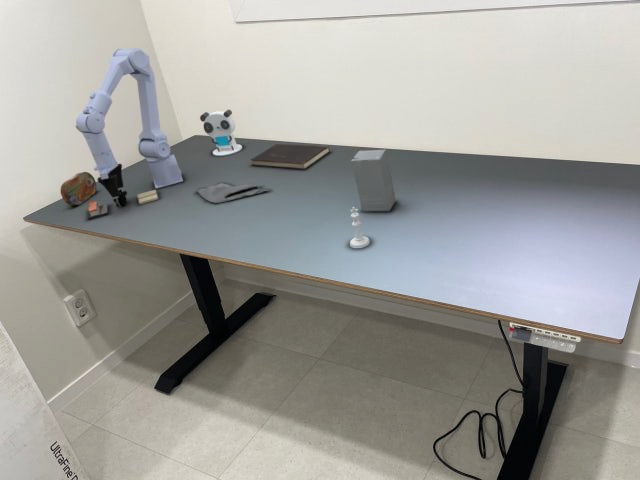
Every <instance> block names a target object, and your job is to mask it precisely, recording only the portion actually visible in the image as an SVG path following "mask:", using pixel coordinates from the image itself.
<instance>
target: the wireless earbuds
mask: <svg viewBox="0 0 640 480" xmlns="http://www.w3.org/2000/svg"><path fill="white" fill-rule="evenodd" d="M118 190H119V196H118V197H113V199H112V200H113V203H115V205H116V207H119V206H121V207H124V206H125V205H126V204H127V203H128V199H127V194H128V192H127V190H124V191H123V190H122V188H119V189H118Z"/></svg>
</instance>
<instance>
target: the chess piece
mask: <svg viewBox="0 0 640 480" xmlns="http://www.w3.org/2000/svg"><path fill="white" fill-rule="evenodd" d="M358 211H359V209H358V208H355V206H352V209H350V213H351V214H350V218H351V219H352V221H353V222H352V223H351V225H352V226H353V227H354V233H355V235H354V237H353V238H352V239H350V241H349V246H350V248H353V249H362V248H365V247H368V246H369V245H370V239H369V237H367V236H364V235H363V234H362V232H361V228H360V225H361V224H362V223H361V221H360V220H359V217H360V213H358Z"/></svg>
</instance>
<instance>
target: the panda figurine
mask: <svg viewBox="0 0 640 480" xmlns="http://www.w3.org/2000/svg"><path fill="white" fill-rule="evenodd" d="M232 115H233V112H232V110H231V109H227V110H226V111H224V110H217V111H214V112H211V113H209V112H207V111H205V112H203V113H202V114H201V115H200V117H199V120H200V121H201V122H202V123H203V130H204V132H205V133H206V134H207V135H208V137H210V138H211V142H212V144H214V145H215V146H216V149H214V150H213V151H212V155H214V156H216V157H223V156H229V155H232V154H233V155H234V154H236V153H238V152H240V151H241V150H242V149H243V146H242V144H238V143H237V142H236V139H235V135H234V134H235V133H234V131H235V129H236V123H235V120H234V118H233V117H232Z"/></svg>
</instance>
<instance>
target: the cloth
mask: <svg viewBox="0 0 640 480" xmlns="http://www.w3.org/2000/svg"><path fill="white" fill-rule="evenodd" d="M195 191H196V193H197V194H198V195H199V196H200V197H202V198H203V199H204V200H206V201H207V202H210V203H214V204H220V203H224V202H229V201H234V200H239V199H241V198H246V197H249V196H254V195H259V194H261V193H266V192H269V191H270V190H269V189H264V188H261V186H258V185H256V184H255V185H254V184H241V185H234V186H233V185H230V184H228V183H222V182H220V183H218V184H215V185H210V186H207V187H206V188H204V187H203V188H202V187H201V188H200V189H196V190H195Z"/></svg>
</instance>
